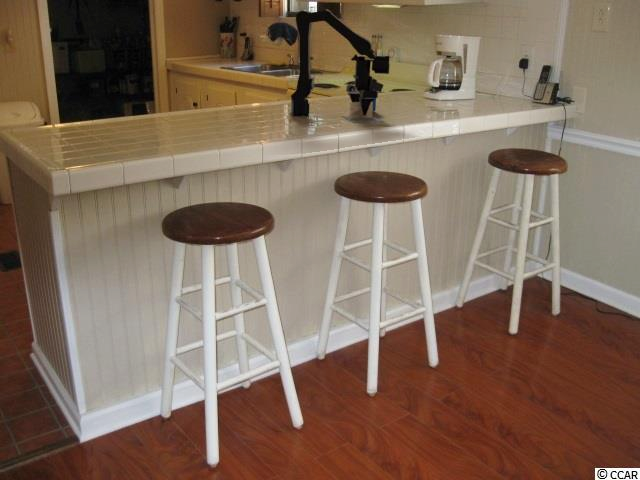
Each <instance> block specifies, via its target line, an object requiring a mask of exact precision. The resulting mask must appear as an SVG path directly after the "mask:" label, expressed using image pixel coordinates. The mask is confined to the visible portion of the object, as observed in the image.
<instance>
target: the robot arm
mask: <svg viewBox="0 0 640 480" xmlns="http://www.w3.org/2000/svg"><path fill="white" fill-rule="evenodd" d="M318 22H325V23H326V24H328V25H329V26H331V28H333V29H334V30H335V31H336V32H337V33H339V35H341V36H342V37H343V38H345V40H347V41H348V43H350V45H351V46H352V48H353V49H354V50H355V51H356V52H357V53H358V54H359V55H358V54H357V53H355V54H354V56H353V57H352V58H350V60H351V61H353V62H355V72H354V73H355V74H353V75H352V76H353V79H354V84H351V83H350V84H348V85H346V87H345V88H346V89H345V91H346V92H347V95H348V96H349V99H350V102H360V104H361V108H362V112H363V115H366V114H367V111H368V108H369V106H370V103H371V102H372V101H373V100H375V99H376V100H377V98H379V93H381V92H382V90H383V89H384V84H383V83H382V82H381V83H380V82H378V80H377V79H376V78H374V77H373V76H372V75H371V71H373V72H374V74H378V75H379V74H383V75H389V74H390V67H391V64H390V55H377V54H376V52H375V51H374V49H373V44H372V42H371V41H370V40H369V39H368V38H366V37H365V36H362V35H361V34H359V33H356V32H355V31H354V30H352V28H350V27H349V26H348V25H346V24H345V23H344V22H343V21H342V20H340V19H339V18H338V17H337V16H336V15H334V14H333V13H332V11H331V10H329V9H324V10H321V11H319V10H318V11H313V12H311V11H309V10H300V11H298V12H297V14H296V15H295V23H296V28H297V32H298V37H299V48H298V49H299V74H298V75H299V76H298V78H297V83H296V84H297V85H296V89H295V91H294V92H293V93H292V94H291V95H290V98H291V100H290V104H291V105H290V109H291V111H290V112H289V114H290V115H292V116H293V117H309V116H310V103H309V99H308V97H309V96H310V95H311V94H312V93H313V91H314V88H316V86H315V78H316V77H315V76H313V77H312V75H311V49H310V48H311V43H310V42H311V40H310V39H311V32H312V28H313V23H318ZM366 57H367V58H366ZM373 89H374V90H373Z"/></svg>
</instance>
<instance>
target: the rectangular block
mask: <svg viewBox="0 0 640 480" xmlns="http://www.w3.org/2000/svg"><path fill="white" fill-rule="evenodd" d="M373 113H374V112H373V102H371V103H370V106H369V108H368V111H367V114H366V115H363V112H362V108H361V104H360V102H351V101H350V102H349V116H350V118H372V116H373Z"/></svg>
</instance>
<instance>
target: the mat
mask: <svg viewBox="0 0 640 480" xmlns="http://www.w3.org/2000/svg"><path fill="white" fill-rule="evenodd" d="M341 118H343V119H345V120H347V121H349V122H351V123H353V124H365V123H366V124H370V123H386V121H385V120H383V119H381V118H378V117H376V116H374V115H372V118H350V115H342V116H341Z"/></svg>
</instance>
